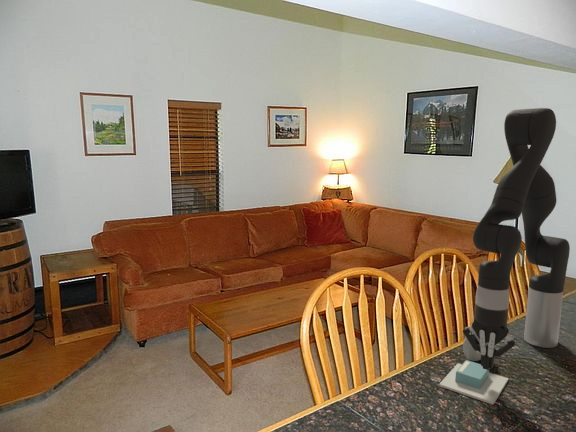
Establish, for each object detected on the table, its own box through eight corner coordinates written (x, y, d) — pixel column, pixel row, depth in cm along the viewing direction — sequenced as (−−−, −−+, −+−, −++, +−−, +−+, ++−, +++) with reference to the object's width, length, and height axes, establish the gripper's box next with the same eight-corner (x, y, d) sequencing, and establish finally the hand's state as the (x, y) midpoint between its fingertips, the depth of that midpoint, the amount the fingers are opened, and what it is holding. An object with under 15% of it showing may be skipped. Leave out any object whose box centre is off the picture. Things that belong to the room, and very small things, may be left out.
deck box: (488, 376, 119) (465, 368, 123) (489, 366, 118) (466, 359, 122) (479, 389, 113) (455, 381, 116) (480, 379, 112) (456, 371, 116)
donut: (469, 367, 125) (472, 333, 123) (459, 362, 128) (461, 328, 126) (491, 358, 130) (494, 325, 128) (481, 353, 133) (483, 321, 131)
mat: (457, 365, 126) (457, 363, 126) (508, 380, 118) (508, 378, 118) (439, 386, 115) (439, 384, 115) (493, 404, 107) (493, 402, 107)
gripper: (524, 305, 111) (518, 370, 114) (469, 293, 119) (465, 355, 122) (517, 314, 105) (511, 383, 108) (459, 301, 113) (455, 366, 116)
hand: (486, 368), depth 115 cm, fingers closed
